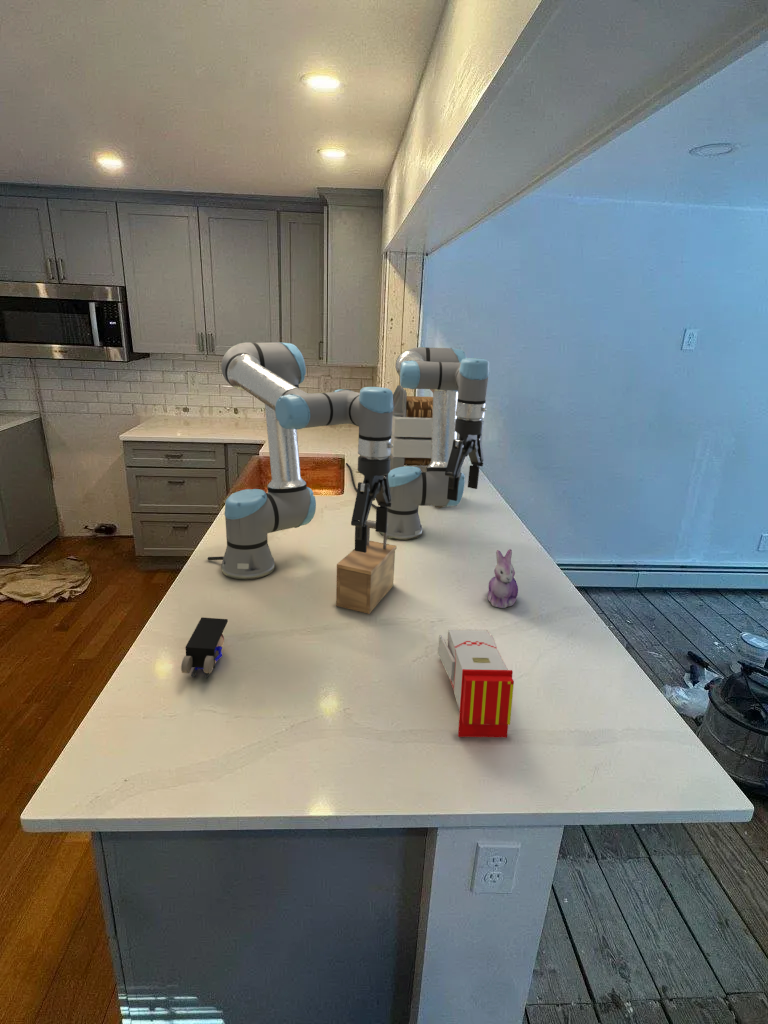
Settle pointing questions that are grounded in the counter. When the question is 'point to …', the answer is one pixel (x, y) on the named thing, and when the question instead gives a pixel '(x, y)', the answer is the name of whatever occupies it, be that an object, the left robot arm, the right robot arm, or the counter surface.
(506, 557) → the figurine
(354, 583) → the chest
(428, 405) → the grey wooden crate
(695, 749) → the counter surface
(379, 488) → the left robot arm
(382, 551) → the lid
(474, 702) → the toy
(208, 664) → the figurine character
